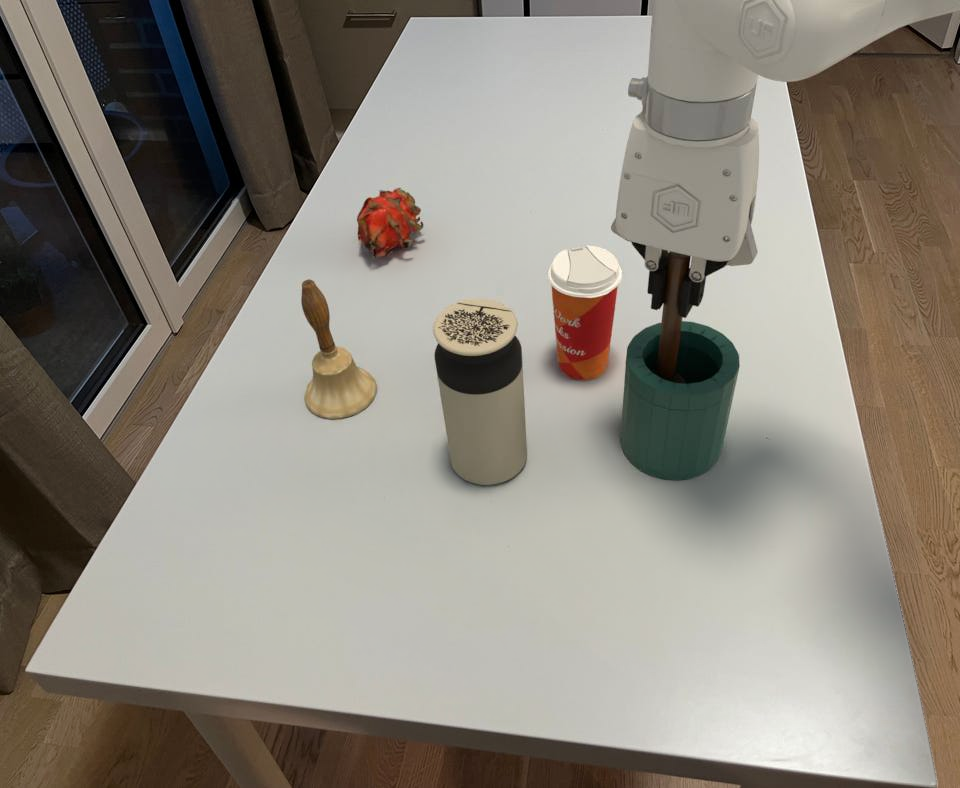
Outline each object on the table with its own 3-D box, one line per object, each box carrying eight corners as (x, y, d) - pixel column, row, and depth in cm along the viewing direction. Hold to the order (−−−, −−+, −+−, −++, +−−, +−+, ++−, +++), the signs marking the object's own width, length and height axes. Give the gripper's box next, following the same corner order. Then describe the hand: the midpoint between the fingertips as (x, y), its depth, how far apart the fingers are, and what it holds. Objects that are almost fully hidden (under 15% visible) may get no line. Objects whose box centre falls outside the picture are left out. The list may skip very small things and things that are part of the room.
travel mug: (507, 497, 79) (496, 364, 66) (437, 472, 82) (413, 340, 69) (539, 441, 84) (534, 307, 71) (472, 420, 86) (456, 288, 74)
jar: (734, 424, 83) (753, 338, 75) (702, 494, 77) (719, 408, 69) (641, 395, 87) (650, 310, 79) (605, 459, 81) (609, 374, 73)
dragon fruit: (419, 229, 117) (384, 286, 110) (370, 196, 115) (331, 252, 108) (442, 197, 110) (406, 256, 103) (390, 160, 108) (350, 218, 101)
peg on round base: (688, 408, 81) (714, 244, 67) (673, 437, 78) (697, 272, 64) (647, 395, 83) (664, 232, 68) (631, 423, 80) (645, 260, 66)
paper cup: (542, 348, 94) (539, 249, 84) (604, 336, 94) (609, 237, 85) (559, 393, 88) (558, 293, 78) (626, 380, 89) (633, 279, 79)
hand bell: (372, 418, 88) (344, 305, 77) (299, 421, 88) (260, 309, 77) (380, 366, 94) (355, 254, 82) (311, 369, 94) (277, 259, 83)
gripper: (576, 109, 58) (574, 306, 71) (797, 147, 52) (751, 355, 65) (616, 68, 63) (607, 260, 76) (824, 99, 56) (775, 303, 69)
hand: (674, 303), depth 70 cm, fingers closed on peg on round base
